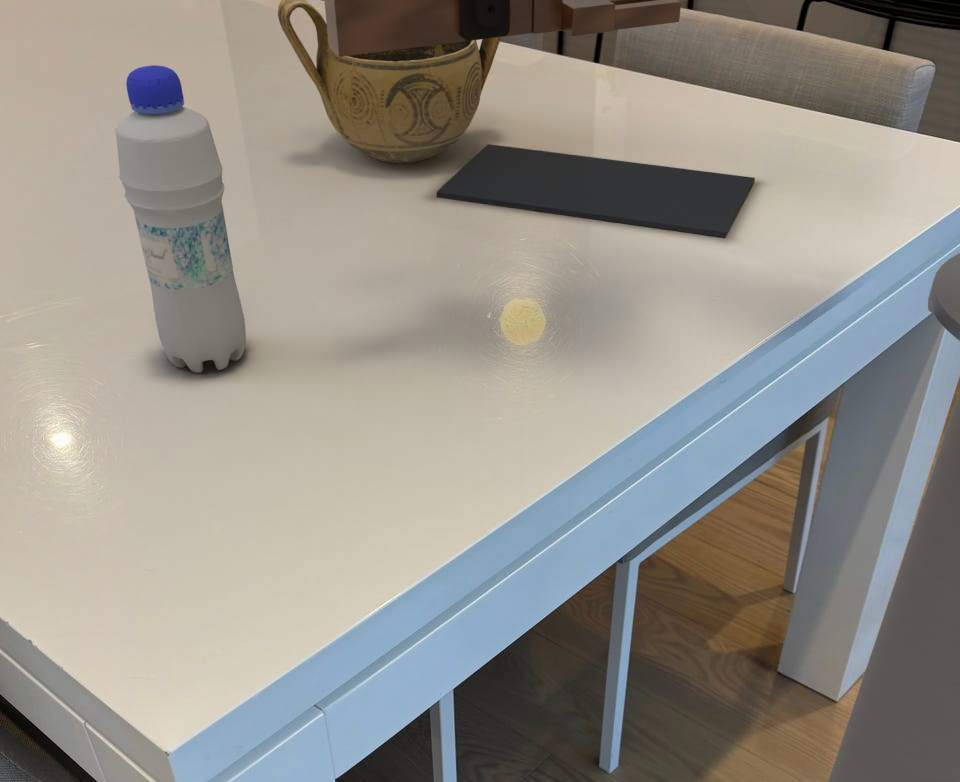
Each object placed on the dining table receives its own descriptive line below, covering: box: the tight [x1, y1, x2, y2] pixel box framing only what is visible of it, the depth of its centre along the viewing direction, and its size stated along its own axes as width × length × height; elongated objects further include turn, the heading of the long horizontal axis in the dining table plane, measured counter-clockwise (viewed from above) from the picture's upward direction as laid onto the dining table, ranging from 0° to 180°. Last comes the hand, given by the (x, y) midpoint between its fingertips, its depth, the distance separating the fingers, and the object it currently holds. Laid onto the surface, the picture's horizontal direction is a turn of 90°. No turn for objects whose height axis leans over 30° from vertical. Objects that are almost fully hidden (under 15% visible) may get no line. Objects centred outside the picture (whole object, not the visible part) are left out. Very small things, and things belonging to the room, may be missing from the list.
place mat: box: [436, 143, 756, 238], centre depth 104 cm, size 28×14×1 cm, turn 69°
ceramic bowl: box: [277, 0, 502, 164], centre depth 107 cm, size 22×17×15 cm
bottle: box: [115, 64, 247, 374], centre depth 74 cm, size 7×7×20 cm
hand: (475, 28), depth 69 cm, fingers closed on fork, 2 cm apart
